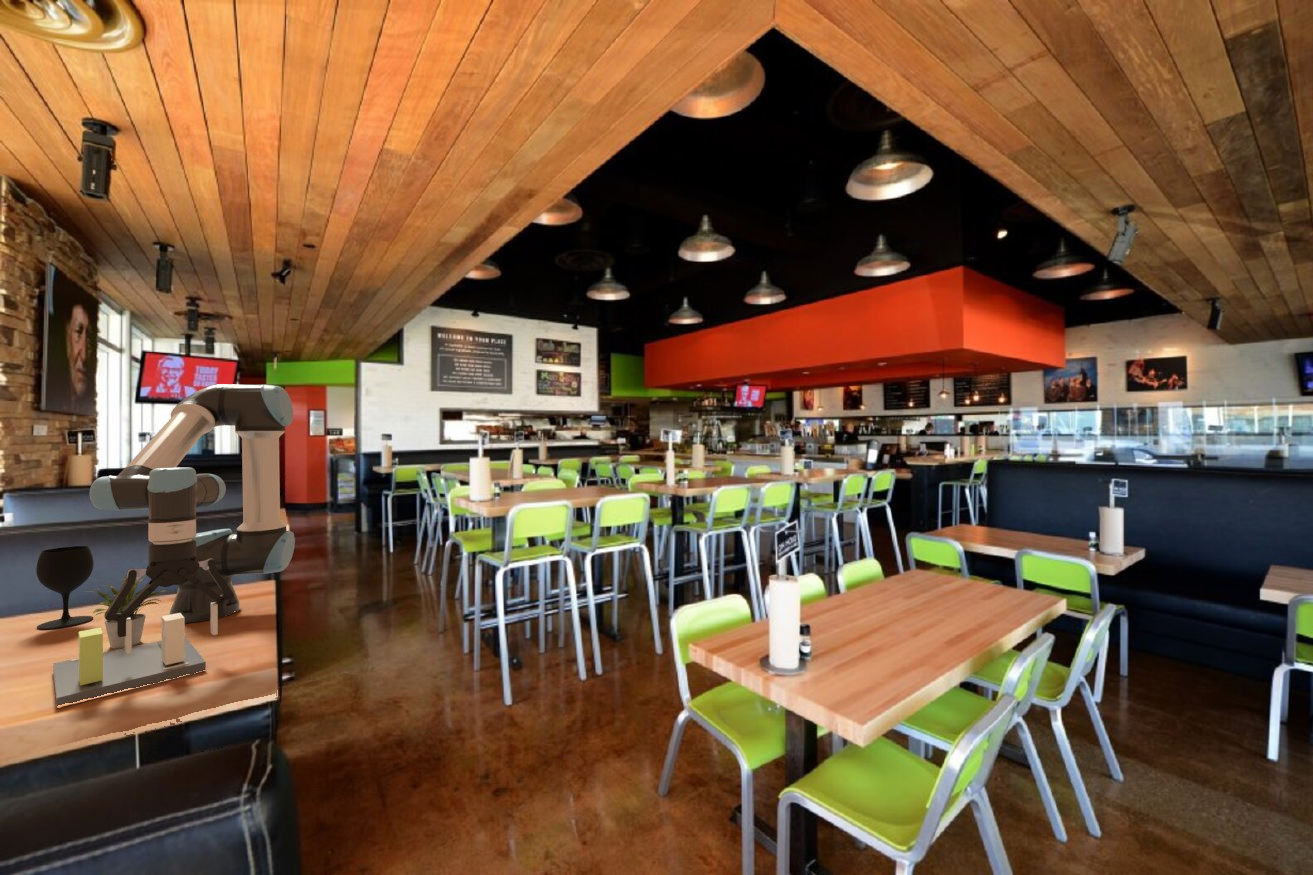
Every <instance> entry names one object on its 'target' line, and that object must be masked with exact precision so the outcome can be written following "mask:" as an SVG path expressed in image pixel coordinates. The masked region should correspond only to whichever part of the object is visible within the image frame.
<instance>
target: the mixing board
mask: <svg viewBox="0 0 1313 875" xmlns="http://www.w3.org/2000/svg"><path fill="white" fill-rule="evenodd" d="M52 667H53V671H52V672H53V683H54V684H55V685H54V684H53V685H54V692H55V693H56V695H55V704H56V703H57V706H58V705H62V704H65V703H73V702H77V701H80V700H83V699H88V698H94V697H97V696H101V695H104V694H107V693H114V692H117V691H120V690H121V691H122V690H124V689H128V688H136V687H140V686H143V685H147V684H153V683H158V682H160V681H164V680H166V679H173V678H177V677H179V676H183V675H186V674H193V675H195V674H194V673H196V672H199V671H203V670H206V661H205V659H204V658H203V657H202V655H201V654H200V652H198V650H197V649H196V648H195V647H194V646H193V644H192V643H191V641H190V640H188V638H187V637H186V636H185V661H181V662H177V663H173V664H168V665H165V664H164V662H163V660H162V640H158V641H153V642H148V643H143V644H139V645H135V646H134V645H132V653H128V654H126V652H125V647H123V648H118V649H114V650H111V651H110V650H109V651H107V652H105V651H104V652H103V680H101V681H97V682H93V683H89V684H85V685H80V682H79V657H77V658H72V659H67V660H62V661H59V662H54V663H53V666H52ZM206 671H207V670H206ZM177 679H178V678H177ZM173 680H174V679H173ZM158 684H159V683H158ZM57 706H56V707H57Z"/></svg>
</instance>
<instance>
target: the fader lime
mask: <svg viewBox="0 0 1313 875" xmlns="http://www.w3.org/2000/svg"><path fill="white" fill-rule="evenodd" d="M103 653H104V633H103V630H102V628H101V627H95V628H93V629H91V628H90V629H86V630H81V631H78V658H79V682H80V685H85V684H89V683H93V682H97V681H101V680H103Z"/></svg>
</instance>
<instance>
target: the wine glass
mask: <svg viewBox="0 0 1313 875" xmlns="http://www.w3.org/2000/svg"><path fill="white" fill-rule="evenodd" d="M94 564H95V563H94V556H93V553H92V550H91V549H90V546H89V545H72V546H64V547H56V548H55V547H54V548H50V549H44V550H42V551H41V552H40V554H39V557H38V558H37V562H36V568H35V569H36V570H35V571H36V577H37V579H38V581H39V582H40V584H41V585H43V586H44V587H45V588H47V589H48V590H51V591H53V592H56V593H58V594H60V596H61V597H62V598H61V599H62V614H61V617H60V618H57V619H53V620H49V621H46V622H43V623H41V624H38V625H37V626H36V630H38V629H39V631H51V630H52V631H53V630H60V629H66V628H71V627H75V626H80V625H84V624H87V623H89V622H91V621H93V620H94V616H92V615H77V616H71V614H70V612H69V601H70V600H69V599H70V596H71V593H72V592H73V591H74V590H77V589H78V588H80V587H81V586H82V585H83V584H84V583H85V582H87V580H88V579H89V578H90V577H91V575H92V573H93V570H94Z"/></svg>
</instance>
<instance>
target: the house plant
mask: <svg viewBox="0 0 1313 875" xmlns="http://www.w3.org/2000/svg"><path fill="white" fill-rule="evenodd" d="M126 576H127V575H125V576H124V577H123V580H122V584H121V587H122V586H123V584H124V582H125V581H126ZM144 578H145V576H142V577H141V578H140V579H139V580H136V581H135V584H134V586H133V587H132V589H131V590H130V592H129V594H128V595H127V597H126V598H125V600H124V602H123V603H122V605H121V607H120V608H119V610H118V611H117V613H120V612H121V611H122V610H123V609H124V608H125V607H126V606H127V605H128V604H129V603H130V602H131V600H132V599H133V598H134V597H135V596H136V595H137V594H138V593H139V592H140V591H141V590H142V589H141V590H138V592H137V593H135V592H136V590H137V586H138V585H139V583H141V582H142V581H143V579H144ZM101 586H103V587H104V586H105V587H108V588H110V589H111V593H112V594H113V597H114V598H115V597H116V595H117V593H118V592H119V590H118V589H117V588H115V587H114V586H112V585H110V584H109V585H106V584H105V585H104V584H102V585H101ZM95 589H97V590H99V591H97V590H91V592H93V593H96V594H97V595H99V596H100V597H102V598H103V599H105V601H102V602H100V603H99V605H103V606H106V607H108V608H109V606H110V605H111V603H112V601H113V600H114V599H113V598H112V597H111V596H110V594H108V593H107V592H106V591H104V590H103V589H101V588H97V587H95ZM100 591H101V592H100ZM168 591H169V590H158V591H153V592H152V593H151V594H150V595H149V596H148V597H147V598H146V599H145V600H144V601H143V602H142V603H141V604H140V605H139V606H138V607H137V608H136V609H135V610H134V611H133V613H132V614H131V615H130V616H129V617H128V618H131V620H132V646H134V645H135V646H136V645H137V644H140V643H141V640H142V636H143V631H144V627H145V621H146V616H147V615H146V614H145V613H138V612H139V611H141V610H142V609H143V608H144V607H145V606H147V605H152V604H153V605H154V604H155V605H159V603H158V602H162V603H163V601H162V600H160V597H159V598H153V599H149V598H151V597H153V596H156V595H158V594H161V593H164V592H168ZM85 592H90V590H87V591H84V593H85ZM147 599H148V600H147ZM156 601H158V602H156ZM139 608H140V609H139ZM102 611H103V612H102ZM106 611H107V609H105V608H97V609H95V610H94V611H92V612H93V613H92V614H94V613H96V614H95V616H98V615H101V614H105V613H106ZM104 625H105V626H104V627H105V630H106V634H107V639H108V641H109V646H110V647H109V648H111V649H124V648H125V637H119V636H118V635H117V621H115V620H106V619H105V621H104Z"/></svg>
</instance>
